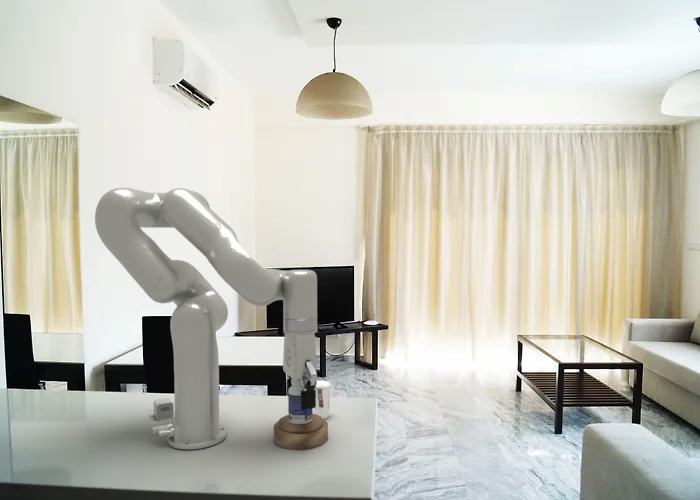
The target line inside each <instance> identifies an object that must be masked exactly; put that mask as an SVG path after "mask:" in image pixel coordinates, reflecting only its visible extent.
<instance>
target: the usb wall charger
mask: <svg viewBox="0 0 700 500" xmlns="http://www.w3.org/2000/svg"><path fill="white" fill-rule="evenodd" d="M153 414H154V417H155V418H156V420H157V421H162V420H168V419H172V418H174V416H175V412H174V403H173V401H172V400H171V398H169V397H163V398H158V399H154V400H153Z"/></svg>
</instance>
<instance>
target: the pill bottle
mask: <svg viewBox="0 0 700 500" xmlns="http://www.w3.org/2000/svg"><path fill="white" fill-rule="evenodd" d="M304 376H306V375H304ZM307 381H308V380H305V384H306V383H307ZM291 384H292V386H291V387H290V388H289V390H288V396H287V397H288V398H287V400H288V402H287V403H288V404H287V405H288V406H287V407H288V409H287V411H288V413H287V415H289V422H290V423H292V424H307V423H309V422H311V421H312V415H313V414H314V413H313V409H314V408H311V409H305V410H302V409H301V390H302V385H301V381H300V379H298V380H297V381H295V380H294V379H292V378H291Z"/></svg>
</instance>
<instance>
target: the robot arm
mask: <svg viewBox="0 0 700 500" xmlns="http://www.w3.org/2000/svg"><path fill="white" fill-rule="evenodd" d="M204 196H205V195H202V194H201V193H199V192H197V191H194V190H191V189H188V188H185V187H184V188H182V187H177V188H173V189H171V190H169V191H167V192H147V191H143V190H139V189H135V188H130V187H117V188H113V189H109V190H108V191H107V192H105V193H104V194H103V195H102V196H101V198H100V199H99V201H98V202H97V205H96V208H95V212H94V221H95V222H94V225H95V228H96V232H97V235H98V236H99V238H100V240H101V242H102V244H103V245H104V247H106V248H107V249H108V251H109V253H111V255H112V256H113V257H114V258H115V259H116V260H117V261H118V262H119V264H121V266H122V267H123V268H124V269H125V271H126V272H127V273H128V274H129V276H131V278H132V279H133V280H134V281H135V282H136V283H137V285H138V286H139V287H140V288H141V289H142V290H143V291H144V293H145V294H146V295H147V296H148V297H149V298H150V299H151V300H152V301H153V302H155V303H159V304H169V303H174V304H175V306H176V307H175V309H174V310H173V312H172V315H171V317H170V323H169V324H170V327H169V328H170V335H171V341H172V349H173V351H172V352H173V372H174V374H173V376H174V379H173V380H174V381H173V383H174V386H173V387H174V416H173V417H172V418H171V419H172V420H171V421H169V422H167V424H166V423H165V424H157V425H152V426H151V427H152V431H151V432H152V436H155V435H158V437H159V438H162V437H167V445H169V446H170V447H172V448H174V449H177V450H178V449H179V450H188V451H189V450H199V449H204V448H209V447H212V446H215V445H217V444H219V443H221V442H222V441H223V440H225V438H226V437H227V429H226V427H225V426H223V425H221V424H220V367H219V366H220V365H219V363H220V361H219V359H220V358H219V348H218V342H217V341H218V340H217V331H219V330H221V328H222V327H224V325H225V324H226V322H227V320H228V316H229V310H228V306H227V304H226V301H225V300H224V298H223V297H222V295H220V294H219V292H218V291H217V290H216V289H215V288H214V287H213V285H212V284H211V283H210V282H209V281H208V280H207V279H206V278H205V277H204V276H203V274H202V273H201V272H200V271H199V270H198V269H197V268H196V267H195V266H194V265H192V264H191V263H190V262H187V261H184V260H181V259H171V258H170V257H169V256H168V255H167V254H166V253H165V252H164V251H163V250H162V248H161V247H160V246H159V245H158V244H157V242H156V241H155V240H153V239H152V237H151V236H149V235H148V233H146V232H145V231H144V230H142V228H145V229H147V228H149V229H150V228H153V229H155V228H156V229H157V228H163V229H164V228H174V229H175V230H176V231H177V232H178V233H179V234H181V235H182V236H183V238H185V239H186V240H187V241H188V242H189V243H191V245H193V247H194V248H196V250H198V251H199V252H200V253H201V254H202V255H203V256H205V258H206V259H207V261H208V263H209V264H210V265H211V267H212V268H213V269H214V270H215V272H216V273H217V274H218V275H219V276H220V278H222V280H223V281H224V282H225V283H226V284H227V285H229V287H231V288H232V289H233V291H235V292H236V293H237V294H238V295H239V296H240V297H241V298H243V299H244V300H245V301H246V302H247V303H249V304H251V305H253V306H257V307H265V306H268V305H270V304H272V303H273V302H275V301H280V300H281V301H282V302H283V307H282V311H283V313H282V314H283V315H282V316H283V317H282V318H283V319H282V321H283V325H282V326H283V328H282V329H283V334H284V337H283V338H284V340H283V353H282V354H283V355H282V357H283V358H282V359H283V361H282V369H283V372H284V373H285V374H286V378H287V379H286V396H287V397H288V390H289V388H290V387H291V386H292V384H291V378H292V379H294V380H295V381H297V380H298V379H300V381H301V385H302V390H301V409H302V410H305V409H311V408H313V409H315V407H316V384H317V383H316V382H317V381H318V380H317V378H318V374H317V344H316V335H315V333H318V275H317V273H316V272H315V270H311V269H291V270H282V269H275V268H264V267H262V265H260V264H259V263H258V262H257V261H256V260H255V259H254V258H253V257H251V255H249V253H248V252H247V251H246V250H245V249H244V248H243V246H242V245H241V244H240V242H239V240H238V237H237V234H236V232H235V230H234V229H233V228H232V227H231V226H230V224H228V223H226V222H225V221H224V220H223V219H222V218H221V217H220V216H219V215H218V214H217V213H215V211H213V209H212V208H211V207H210V204H209V202H208V200H207V199H206V198H205V197H204ZM304 375H305V376H304ZM305 380H308V381H307V383H306V384H305Z"/></svg>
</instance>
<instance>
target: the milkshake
mask: <svg viewBox="0 0 700 500" xmlns="http://www.w3.org/2000/svg"><path fill="white" fill-rule="evenodd" d="M334 379H335V378H334V377H333V378H332V380H334ZM316 381H317V382H316V383H317V384H316V407H315V408H314V414H316V415H319V416H321V417H322V418H323V419H324V420H326V419H328V418H329V416H330V415H329V412H330V399H331V387H332V383H333V382H331V383H330V382H329V381H327V380H323V379H322V380H316Z"/></svg>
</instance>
